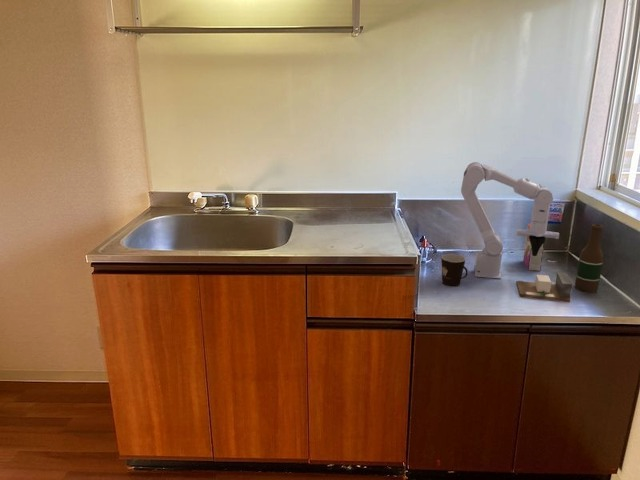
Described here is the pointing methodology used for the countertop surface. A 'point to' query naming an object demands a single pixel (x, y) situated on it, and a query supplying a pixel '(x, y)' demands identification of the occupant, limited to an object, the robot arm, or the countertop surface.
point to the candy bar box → (529, 260)
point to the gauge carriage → (543, 283)
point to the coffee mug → (452, 269)
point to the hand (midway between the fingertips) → (534, 255)
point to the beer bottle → (590, 262)
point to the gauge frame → (556, 293)
